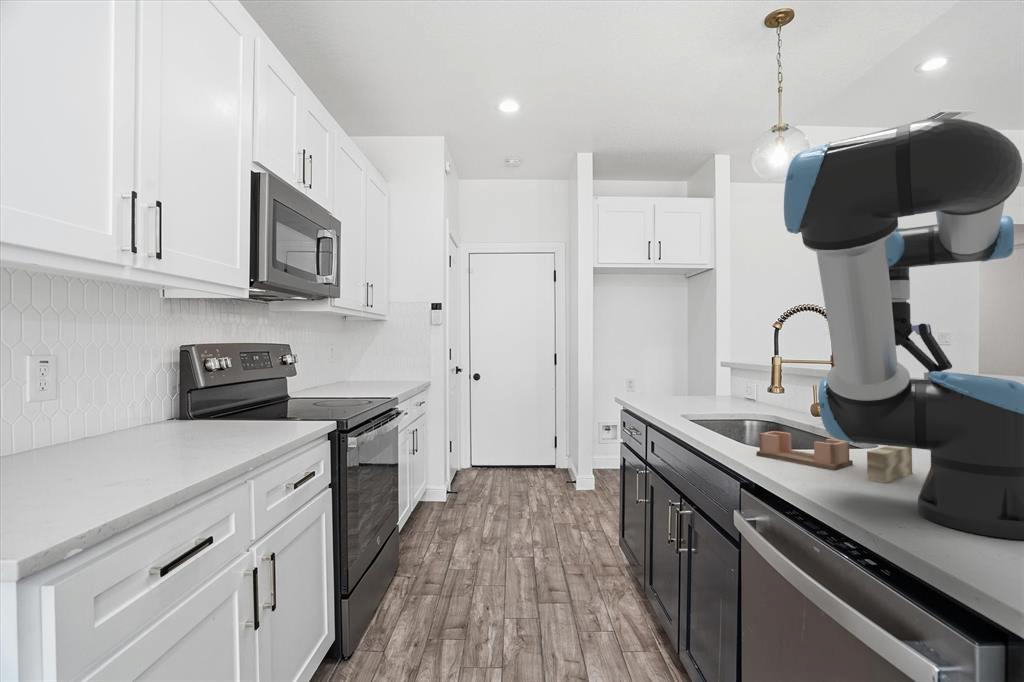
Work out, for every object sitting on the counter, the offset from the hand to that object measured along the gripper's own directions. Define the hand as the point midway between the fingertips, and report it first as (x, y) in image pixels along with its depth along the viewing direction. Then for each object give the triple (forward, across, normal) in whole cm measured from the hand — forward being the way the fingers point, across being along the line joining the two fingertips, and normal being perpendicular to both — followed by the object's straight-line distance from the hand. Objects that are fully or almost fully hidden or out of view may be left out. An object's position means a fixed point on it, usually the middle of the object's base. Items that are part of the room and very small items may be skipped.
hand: (889, 401), depth 104 cm
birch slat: (+16, 0, 0) cm, 16 cm away
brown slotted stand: (+15, +18, 0) cm, 23 cm away
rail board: (+16, +18, 0) cm, 24 cm away
